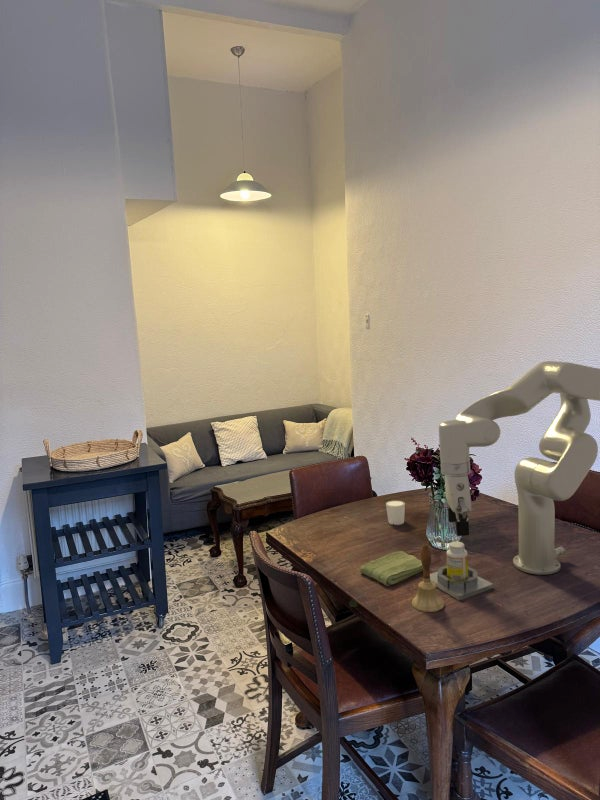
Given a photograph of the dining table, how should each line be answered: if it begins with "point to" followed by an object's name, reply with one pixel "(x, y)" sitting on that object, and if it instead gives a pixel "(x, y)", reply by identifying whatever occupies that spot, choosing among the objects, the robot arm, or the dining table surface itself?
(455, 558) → the supplement bottle
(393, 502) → the white tapered cup
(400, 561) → the washcloth
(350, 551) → the dining table surface
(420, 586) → the hand bell
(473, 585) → the grey octagonal holder base
